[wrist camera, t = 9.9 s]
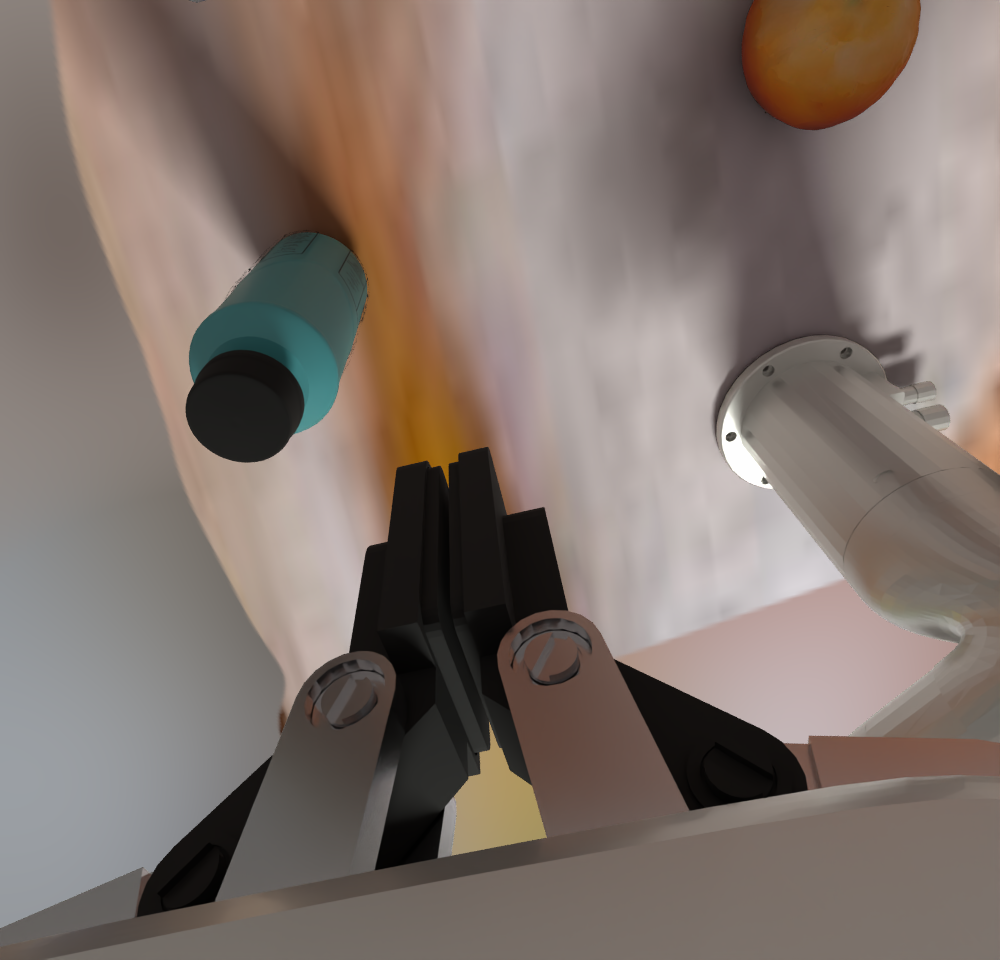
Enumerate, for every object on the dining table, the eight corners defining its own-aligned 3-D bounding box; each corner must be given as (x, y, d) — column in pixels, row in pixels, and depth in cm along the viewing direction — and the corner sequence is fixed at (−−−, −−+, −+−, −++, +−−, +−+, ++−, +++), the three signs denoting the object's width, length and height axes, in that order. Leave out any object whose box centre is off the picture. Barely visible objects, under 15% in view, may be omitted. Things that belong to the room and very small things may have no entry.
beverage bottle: (271, 211, 38) (132, 318, 21) (381, 237, 39) (334, 359, 22) (265, 315, 41) (142, 479, 24) (367, 336, 42) (317, 506, 26)
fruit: (744, 181, 38) (794, 110, 30) (706, 52, 37) (746, -54, 29) (881, 134, 37) (970, 48, 29) (843, 2, 36) (922, -121, 29)
